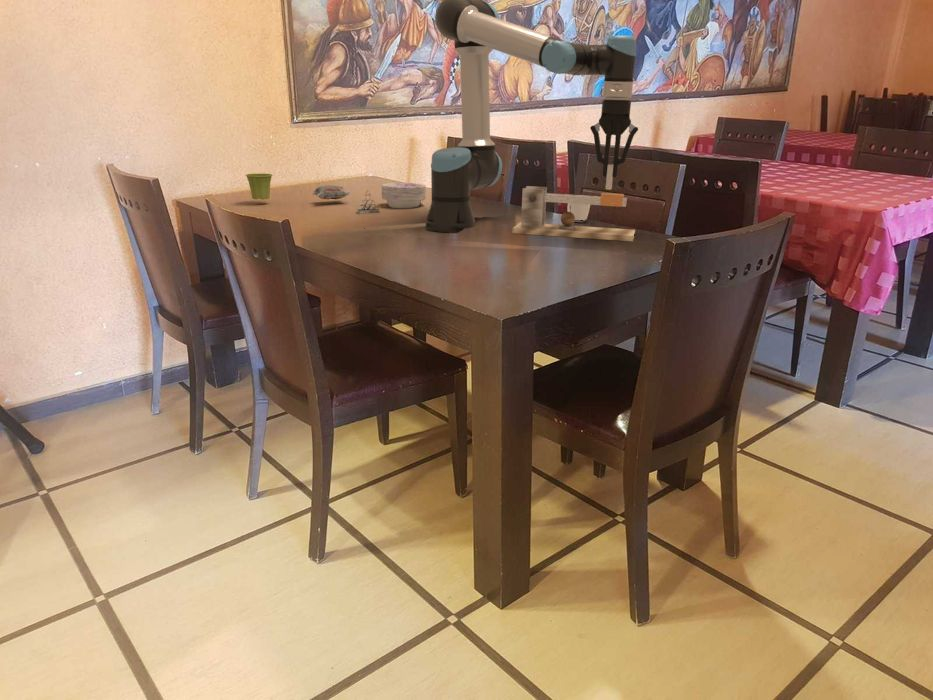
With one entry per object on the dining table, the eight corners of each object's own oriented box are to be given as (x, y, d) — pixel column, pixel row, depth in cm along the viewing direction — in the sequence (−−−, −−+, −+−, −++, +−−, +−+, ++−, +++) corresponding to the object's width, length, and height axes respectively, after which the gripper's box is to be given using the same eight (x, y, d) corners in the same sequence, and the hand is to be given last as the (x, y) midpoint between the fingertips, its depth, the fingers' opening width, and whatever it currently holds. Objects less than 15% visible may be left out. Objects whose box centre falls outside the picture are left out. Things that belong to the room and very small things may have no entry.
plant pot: (265, 196, 261) (262, 172, 258) (279, 198, 256) (277, 174, 253) (242, 198, 255) (240, 174, 252) (257, 201, 249) (254, 176, 246)
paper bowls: (419, 203, 250) (419, 181, 248) (430, 210, 237) (430, 186, 234) (378, 205, 246) (377, 182, 243) (387, 211, 232) (386, 187, 230)
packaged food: (349, 200, 252) (349, 186, 251) (317, 201, 248) (316, 187, 246) (343, 197, 260) (343, 184, 258) (312, 198, 255) (311, 185, 254)
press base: (512, 233, 200) (514, 189, 195) (519, 227, 209) (521, 185, 204) (632, 241, 191) (637, 195, 187) (634, 234, 200) (639, 191, 196)
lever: (527, 202, 198) (528, 190, 197) (530, 200, 202) (531, 188, 201) (625, 208, 192) (626, 196, 190) (626, 206, 195) (627, 194, 194)
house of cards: (380, 209, 237) (380, 187, 235) (385, 214, 230) (384, 190, 227) (354, 210, 235) (353, 187, 232) (358, 214, 227) (357, 191, 224)
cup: (576, 224, 214) (578, 198, 211) (558, 219, 223) (559, 194, 220) (594, 223, 217) (596, 197, 214) (576, 218, 225) (578, 193, 223)
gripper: (590, 98, 183) (583, 189, 191) (641, 99, 180) (631, 191, 188) (593, 98, 190) (586, 186, 198) (642, 99, 186) (633, 188, 195)
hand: (608, 188), depth 193 cm, fingers closed
